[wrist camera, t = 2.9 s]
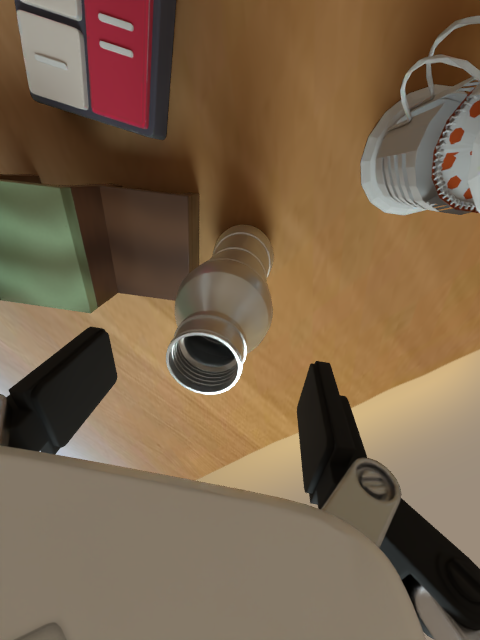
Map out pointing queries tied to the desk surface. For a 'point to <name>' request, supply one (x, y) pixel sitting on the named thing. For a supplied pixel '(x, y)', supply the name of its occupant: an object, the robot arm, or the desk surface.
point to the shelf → (93, 242)
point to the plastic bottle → (222, 312)
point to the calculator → (101, 59)
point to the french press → (428, 144)
